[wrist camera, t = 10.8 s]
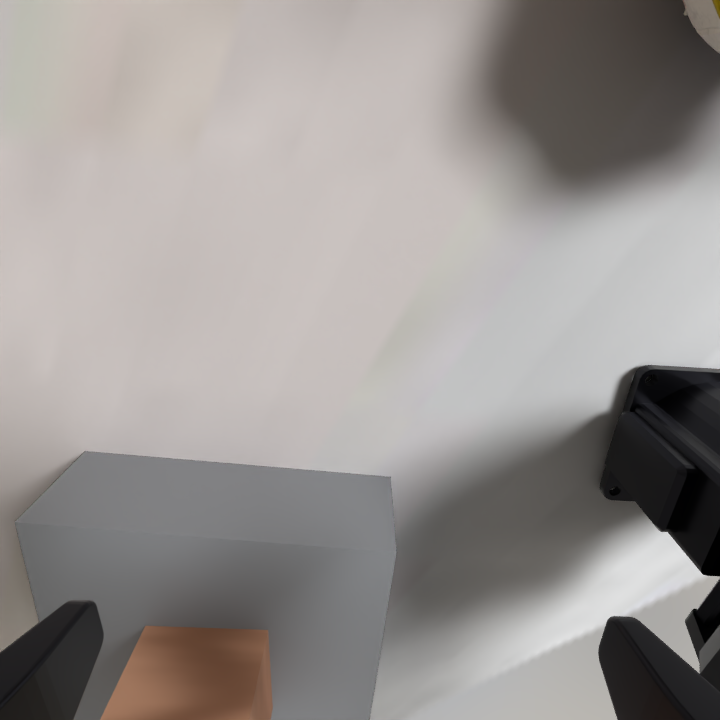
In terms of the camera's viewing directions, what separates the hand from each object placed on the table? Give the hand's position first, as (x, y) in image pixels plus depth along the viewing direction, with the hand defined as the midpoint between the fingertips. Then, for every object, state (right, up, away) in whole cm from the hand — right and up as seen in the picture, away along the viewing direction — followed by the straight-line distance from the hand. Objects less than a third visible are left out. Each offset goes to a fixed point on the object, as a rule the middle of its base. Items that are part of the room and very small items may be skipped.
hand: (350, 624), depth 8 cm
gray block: (-6, -6, +16) cm, 18 cm away
